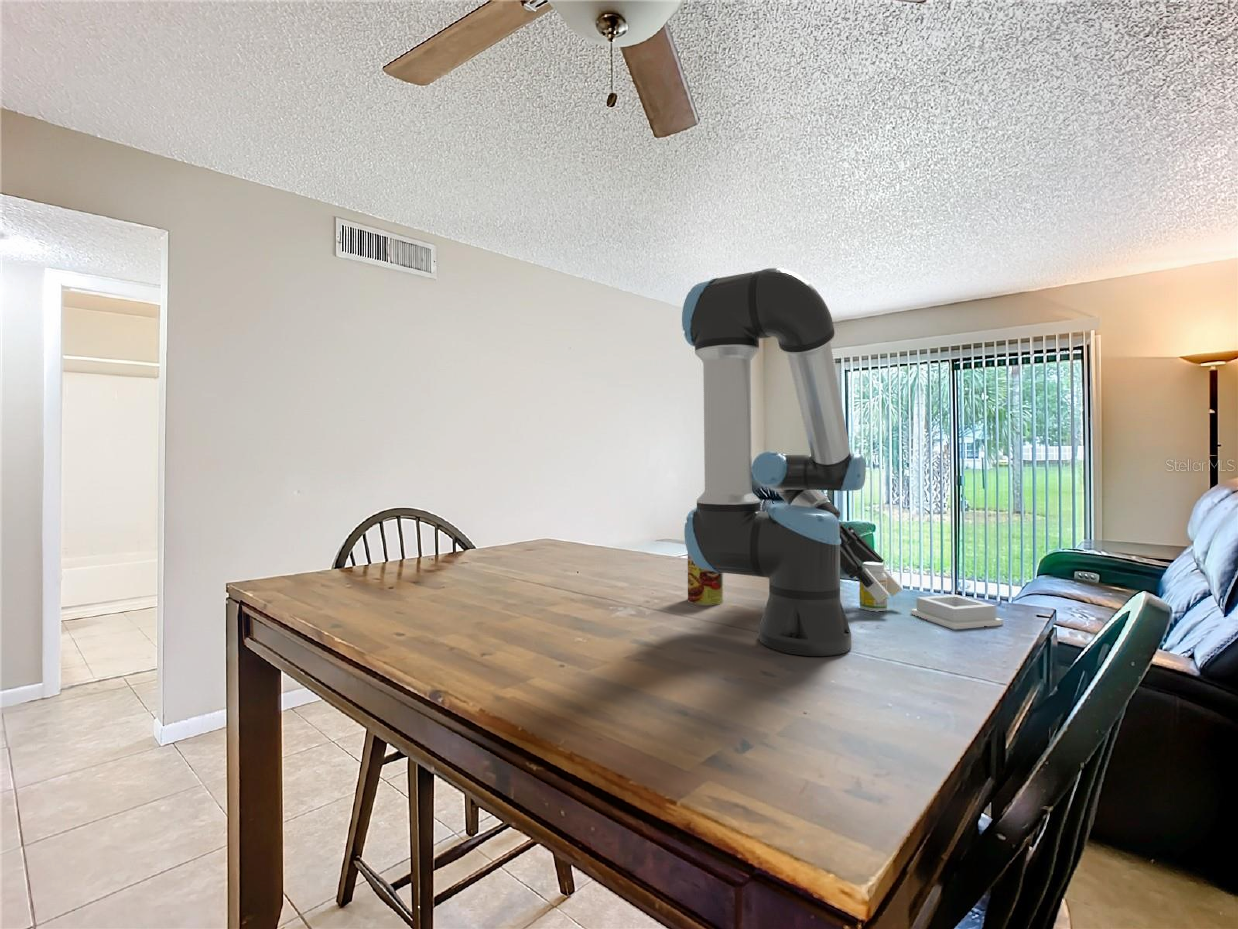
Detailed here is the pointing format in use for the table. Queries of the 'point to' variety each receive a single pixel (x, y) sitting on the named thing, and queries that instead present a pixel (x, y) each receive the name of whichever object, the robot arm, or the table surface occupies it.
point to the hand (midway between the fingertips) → (890, 595)
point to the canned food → (704, 585)
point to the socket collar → (956, 612)
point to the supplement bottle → (865, 597)
